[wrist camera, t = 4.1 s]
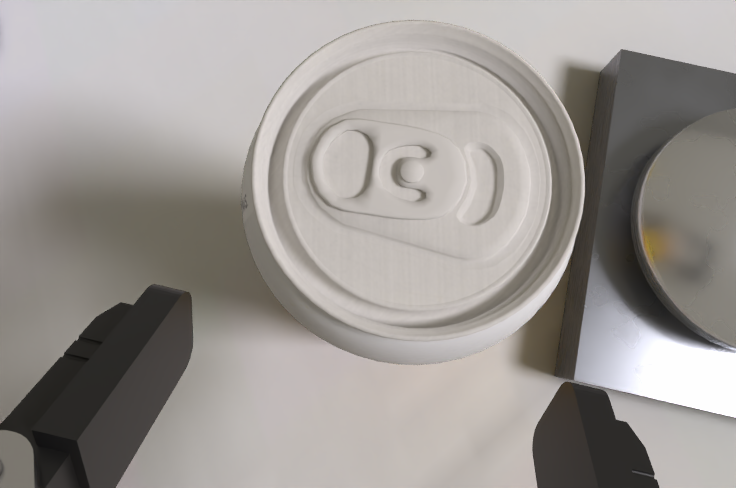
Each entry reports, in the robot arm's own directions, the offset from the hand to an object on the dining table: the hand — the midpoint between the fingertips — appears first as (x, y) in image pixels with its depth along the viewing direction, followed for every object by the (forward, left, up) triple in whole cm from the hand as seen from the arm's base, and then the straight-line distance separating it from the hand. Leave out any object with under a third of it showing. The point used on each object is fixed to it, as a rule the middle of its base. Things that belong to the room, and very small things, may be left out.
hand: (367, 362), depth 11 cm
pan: (+14, +8, -9) cm, 19 cm away
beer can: (0, +3, -12) cm, 12 cm away
